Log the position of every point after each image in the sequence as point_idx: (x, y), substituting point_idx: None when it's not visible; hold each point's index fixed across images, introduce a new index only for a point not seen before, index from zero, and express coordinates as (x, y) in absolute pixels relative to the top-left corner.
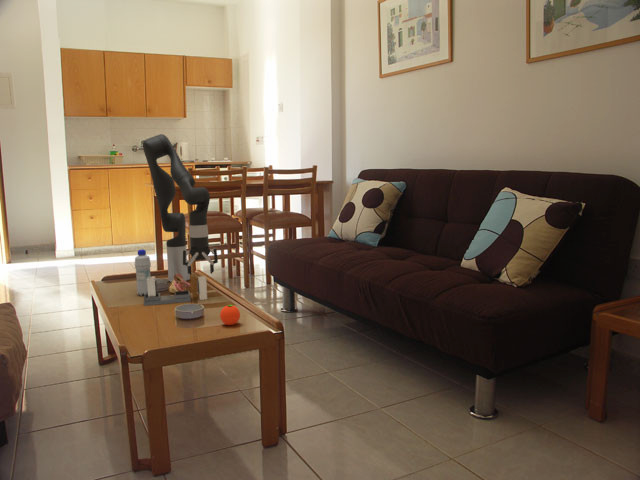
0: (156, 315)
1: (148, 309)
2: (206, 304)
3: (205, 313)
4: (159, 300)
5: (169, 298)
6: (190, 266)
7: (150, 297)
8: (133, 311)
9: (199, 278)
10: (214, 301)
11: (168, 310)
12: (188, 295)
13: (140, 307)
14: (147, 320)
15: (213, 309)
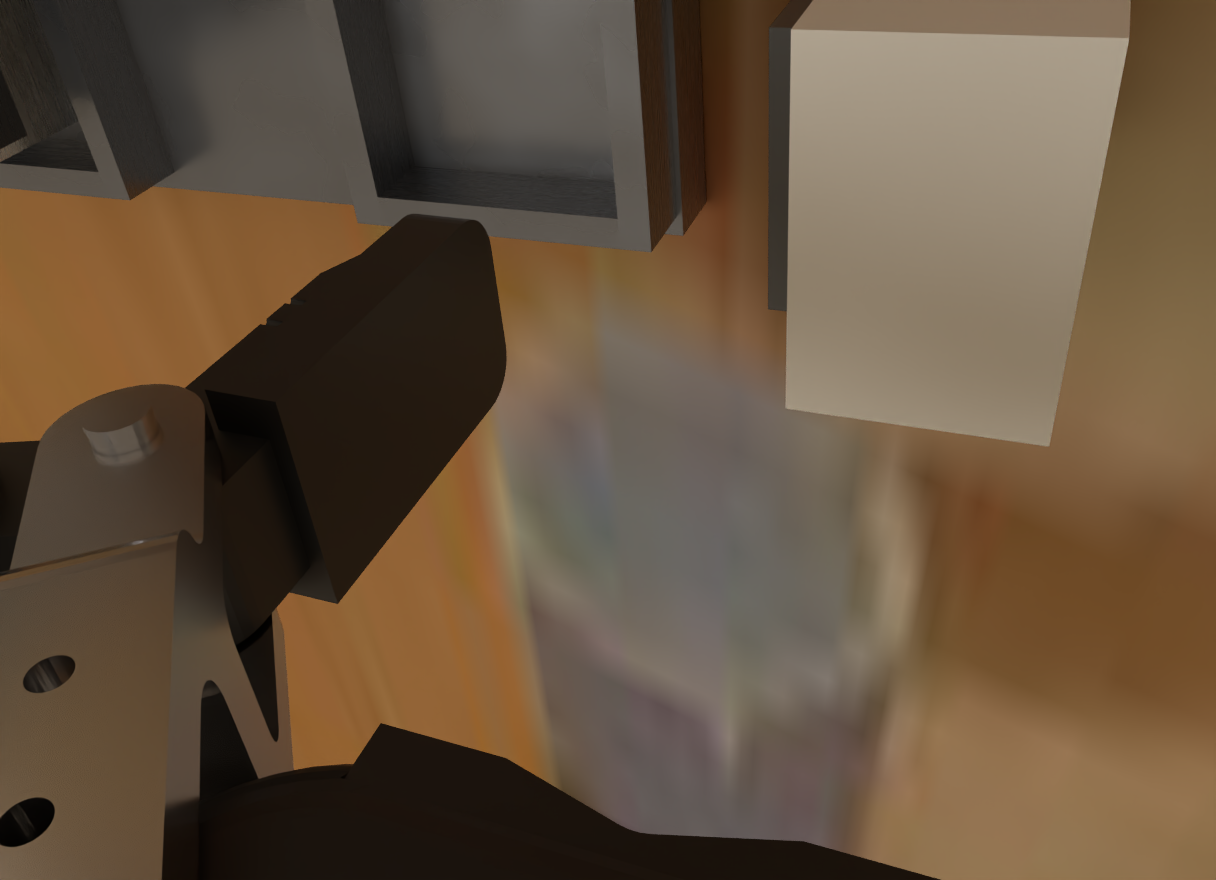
0: (345, 638)
1: (169, 372)
2: (974, 509)
3: (880, 847)
4: (167, 172)
5: (286, 89)
6: (314, 593)
7: (1, 180)
8: (39, 377)
9: (812, 374)
10: (1187, 387)
11: (426, 530)
12: (625, 240)
13: (25, 225)
14: (313, 729)
15: (1020, 777)
